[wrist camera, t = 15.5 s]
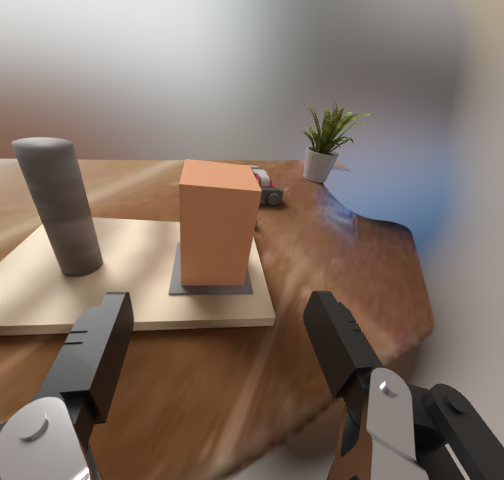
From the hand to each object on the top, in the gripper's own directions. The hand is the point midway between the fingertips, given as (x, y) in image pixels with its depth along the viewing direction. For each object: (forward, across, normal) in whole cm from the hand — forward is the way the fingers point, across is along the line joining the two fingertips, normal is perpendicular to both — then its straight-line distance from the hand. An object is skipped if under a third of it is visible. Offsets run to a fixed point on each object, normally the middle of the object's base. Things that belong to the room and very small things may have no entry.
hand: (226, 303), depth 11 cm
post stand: (+11, +6, +8) cm, 15 cm away
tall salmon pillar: (+10, 0, +7) cm, 12 cm away
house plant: (+42, -25, +8) cm, 50 cm away
